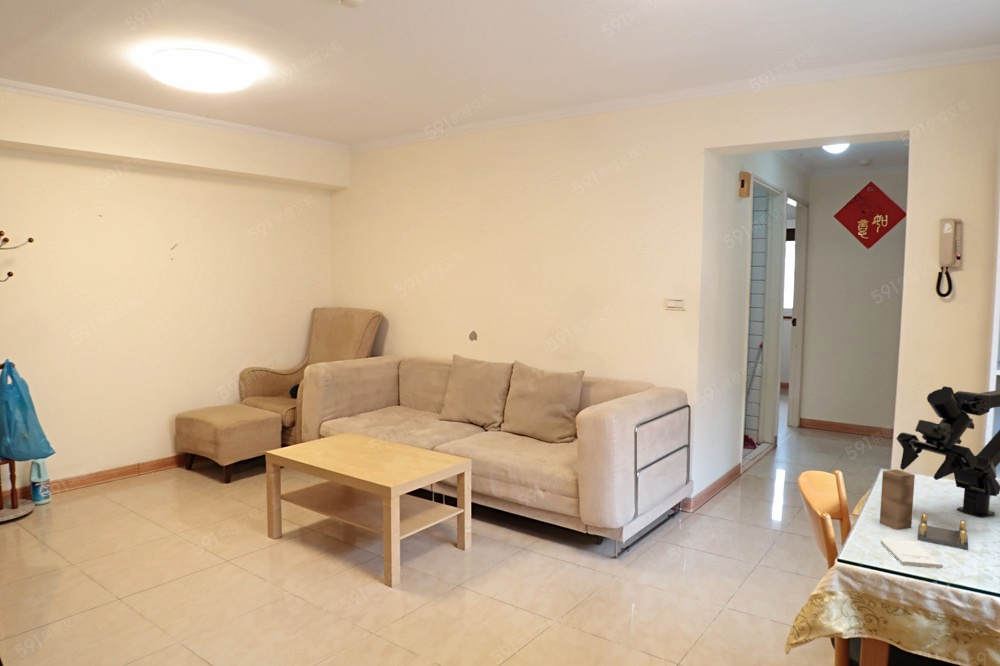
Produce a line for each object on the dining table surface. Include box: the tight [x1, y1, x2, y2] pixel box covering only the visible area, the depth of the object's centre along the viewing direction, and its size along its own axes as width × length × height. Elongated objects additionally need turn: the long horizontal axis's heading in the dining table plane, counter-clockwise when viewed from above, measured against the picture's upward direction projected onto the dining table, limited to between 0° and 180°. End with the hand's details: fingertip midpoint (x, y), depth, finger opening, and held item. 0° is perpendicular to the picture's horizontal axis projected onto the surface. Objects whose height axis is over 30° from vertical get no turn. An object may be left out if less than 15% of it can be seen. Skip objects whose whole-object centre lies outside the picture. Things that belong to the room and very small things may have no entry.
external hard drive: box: [879, 538, 944, 569], centre depth 148 cm, size 2×8×12 cm
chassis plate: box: [916, 513, 969, 551], centre depth 158 cm, size 10×10×4 cm
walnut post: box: [879, 469, 916, 531], centre depth 166 cm, size 5×5×14 cm
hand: (917, 473), depth 168 cm, fingers open, 9 cm apart
